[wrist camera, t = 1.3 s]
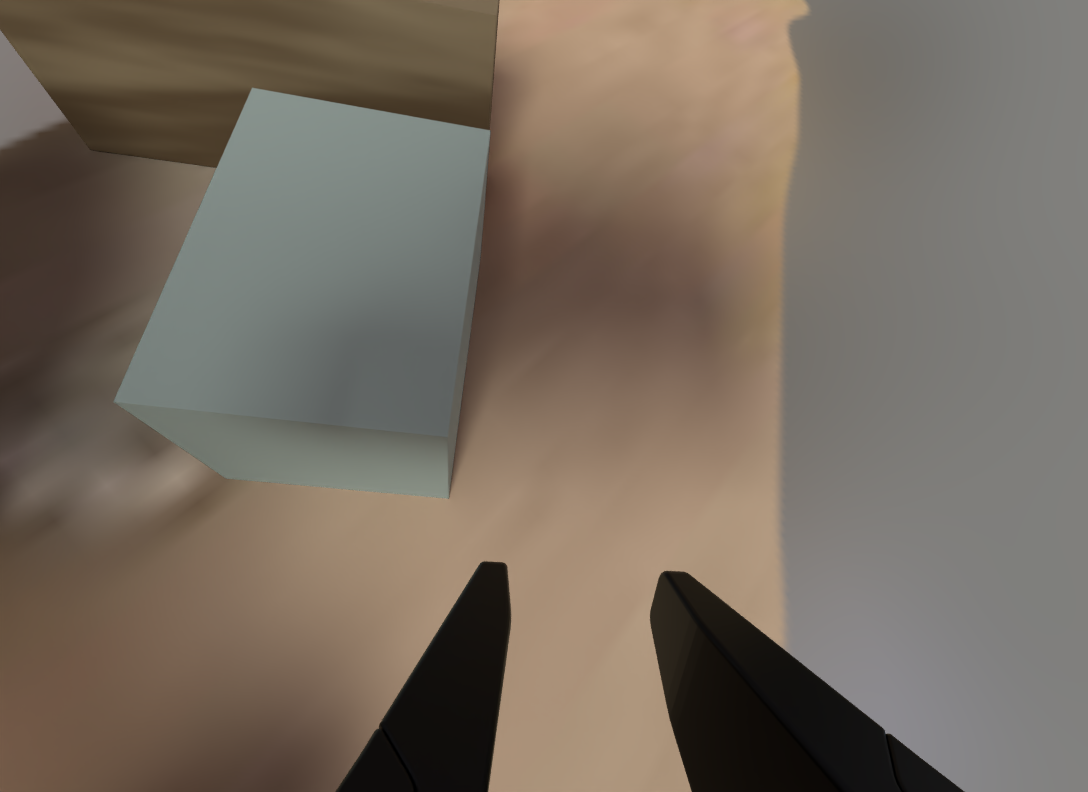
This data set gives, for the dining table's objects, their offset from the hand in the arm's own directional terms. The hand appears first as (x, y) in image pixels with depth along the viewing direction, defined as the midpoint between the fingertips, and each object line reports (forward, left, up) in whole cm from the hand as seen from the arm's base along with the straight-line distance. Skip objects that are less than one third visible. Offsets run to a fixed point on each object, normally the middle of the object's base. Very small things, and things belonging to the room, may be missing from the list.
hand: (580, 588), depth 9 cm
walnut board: (+22, +13, -14) cm, 29 cm away
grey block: (+11, +7, -14) cm, 19 cm away
